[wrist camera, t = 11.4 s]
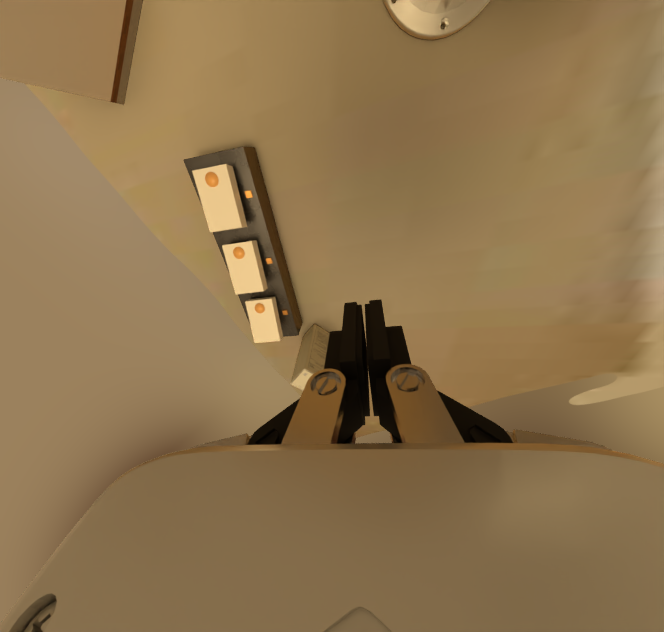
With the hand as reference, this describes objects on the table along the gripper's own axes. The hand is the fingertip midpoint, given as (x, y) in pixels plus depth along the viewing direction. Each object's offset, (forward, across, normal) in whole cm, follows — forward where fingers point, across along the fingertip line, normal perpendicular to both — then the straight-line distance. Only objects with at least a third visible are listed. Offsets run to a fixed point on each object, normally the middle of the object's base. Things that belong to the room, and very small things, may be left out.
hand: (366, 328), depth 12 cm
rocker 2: (+23, +17, +13) cm, 31 cm away
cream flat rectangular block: (+23, +17, +4) cm, 29 cm away
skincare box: (+29, +10, +22) cm, 38 cm away
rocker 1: (+23, +17, -5) cm, 29 cm away
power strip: (+29, +17, +4) cm, 34 cm away
